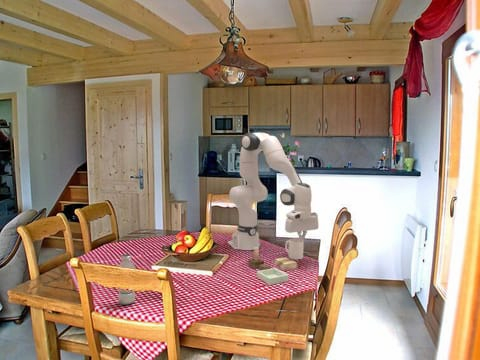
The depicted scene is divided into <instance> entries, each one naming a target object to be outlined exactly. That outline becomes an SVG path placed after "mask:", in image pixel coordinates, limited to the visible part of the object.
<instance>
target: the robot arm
mask: <svg viewBox="0 0 480 360" xmlns="http://www.w3.org/2000/svg"><path fill="white" fill-rule="evenodd" d="M260 153H263V155H264V158H265V161H266V163H267V164H268V166H269V168H270V169H272V170H274V171H277V172H279V173H282V174H283V175H285V176H286V177H287V179H288V180H289V183H290V184H291V186H290V187H286V188H284V189H282V190H281V192H280V195H279V200H280V202H281V203H282V205H284V206H288V207H289V206H290V207H291V206H293V210H291V211H288V212H287V213H286V215H285V217H286V219H285V227H284V228H285V229H284V230H285V232H286V233H289V234H292V233H297V236H298V239H300V240H301V239H302V240H305V239H306V235H307V233H308V231H315V230H318V229H319V226H320V225H319V216H318V215H319V214H318V213H316V212H312V206H311V205H312V199H313V198H312V188H311V185H309V184H308V183H304V182H303V181H302V179H301V178H300V175H299V173H298V171H297V169H296V168H295V166H294V165H293V163H292V162H291V161H290V160H289V158H288V157H287V155H286V153H285V150H284V148H283V146H282V144H281V142H280V141H279V138H278V137H276V136H275V135H273V134H270V133H268V132H258V131H257V132H247V133H245V134H243V135H242V137H241V149H240V153H239V175H240V177H241V178H243V179H245V181H246V185H245V184H244V185H243V184H241V185H237V186H236V185H235V186H233V187H231V188H230V190H229V195H228V196H229V197H228V198H229V200H230V201H231V202H232V203H233V204H234V205H235V206H236V208H237V211H238V218H239V219H238V222H239V223H238V224H237V229H236V231H234V232H233V233H232V235H231V238H230V239H231V240H229V241H227V244H228V245H230V246H231V248H233V249H234V250H242V251H252V250H253V251H254V248H255V247H258V248H259V249H260V247H261V243H260V236H259V232H258V229H259V227H258V212H257V211H256V210H255V209H253V208H252V205H251V203H260V202H263V201H265V200H266V199H267V198H268V189H267V187H266V186H265V185H264V184H263V183H262V181H261V180H260V177H259V176H260V175H259V167H258V166H259V165H258V164H259V163H258V162H259V158H258V157H259V154H260Z"/></svg>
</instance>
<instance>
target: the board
mask: <svg viewBox="0 0 480 360" xmlns="http://www.w3.org/2000/svg"><path fill="white" fill-rule="evenodd" d="M297 265H298V262H296V261H294V260H293V259H290V258H289V257H286V256H285V257H279V258H274V266H277V267H278V268H280V269H282V270H283V271H290V270H291V271H292V270H297V269H298V268H297V267H298V266H297Z"/></svg>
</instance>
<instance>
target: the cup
mask: <svg viewBox="0 0 480 360" xmlns="http://www.w3.org/2000/svg"><path fill="white" fill-rule="evenodd" d="M304 241H305V240H304V239H301V240H300V239H299V238H290V239H288V240H286V242H285V245H284V246H285V247H284V248H285V251H286V252H287V253H288V259H290V260H293V261H294V260H295V261H296V260H298V259H300V260H302V259H304V244H305V243H304Z"/></svg>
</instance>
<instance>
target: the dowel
mask: <svg viewBox="0 0 480 360" xmlns="http://www.w3.org/2000/svg"><path fill="white" fill-rule="evenodd" d="M253 258H254V261H259V258H260V247H259V248H258V247H255V248H254V250H253Z"/></svg>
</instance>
